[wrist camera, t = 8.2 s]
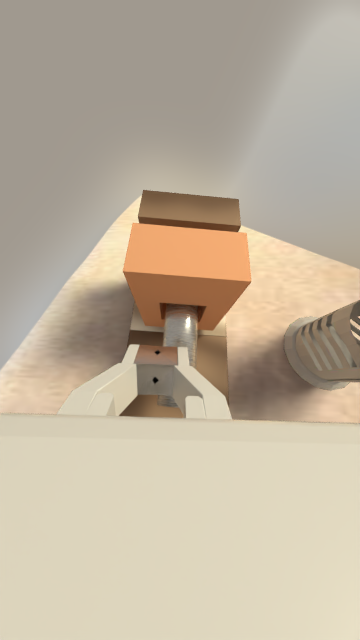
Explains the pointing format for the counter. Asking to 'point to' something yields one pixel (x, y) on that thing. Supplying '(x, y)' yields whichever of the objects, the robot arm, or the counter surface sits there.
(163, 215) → the pipe stand
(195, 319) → the steel pipe
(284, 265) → the counter surface
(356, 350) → the french press
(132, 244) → the collar
